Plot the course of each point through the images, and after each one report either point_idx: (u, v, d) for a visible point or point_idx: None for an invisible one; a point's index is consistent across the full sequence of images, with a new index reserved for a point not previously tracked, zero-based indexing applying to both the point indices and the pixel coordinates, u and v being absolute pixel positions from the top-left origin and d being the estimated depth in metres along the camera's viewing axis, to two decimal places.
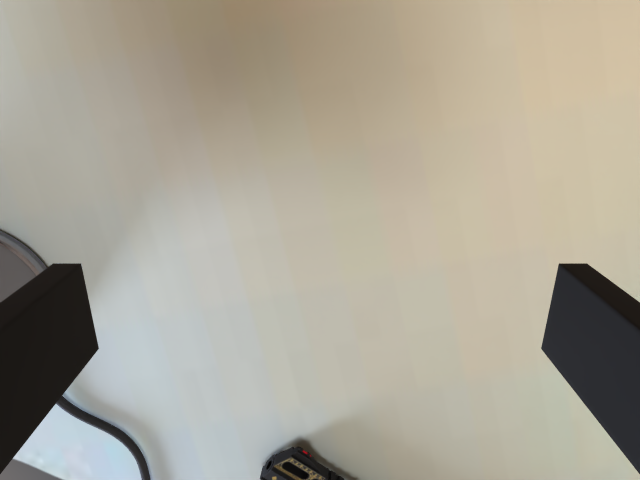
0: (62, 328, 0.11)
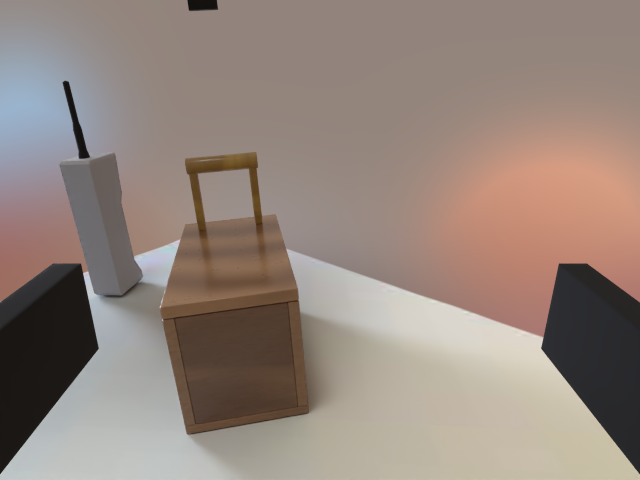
0: (62, 328, 0.11)
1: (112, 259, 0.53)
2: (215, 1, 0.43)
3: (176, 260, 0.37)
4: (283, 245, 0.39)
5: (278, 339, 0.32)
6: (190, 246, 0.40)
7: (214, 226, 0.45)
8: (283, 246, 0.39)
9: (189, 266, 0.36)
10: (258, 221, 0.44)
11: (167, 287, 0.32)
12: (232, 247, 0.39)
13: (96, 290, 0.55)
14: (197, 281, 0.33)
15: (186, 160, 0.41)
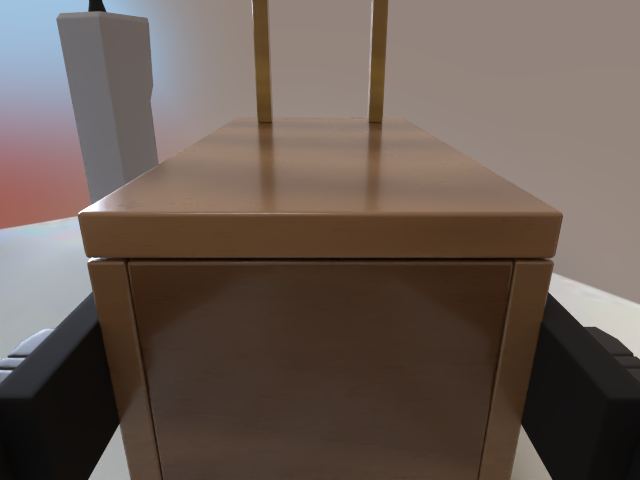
0: None
1: None
2: None
3: (195, 145, 0.16)
4: (444, 143, 0.16)
5: (453, 380, 0.10)
6: (233, 134, 0.19)
7: (288, 121, 0.23)
8: (445, 144, 0.16)
9: (219, 153, 0.14)
10: (374, 117, 0.22)
11: (140, 177, 0.11)
12: (323, 139, 0.17)
13: None
14: (226, 174, 0.12)
15: None
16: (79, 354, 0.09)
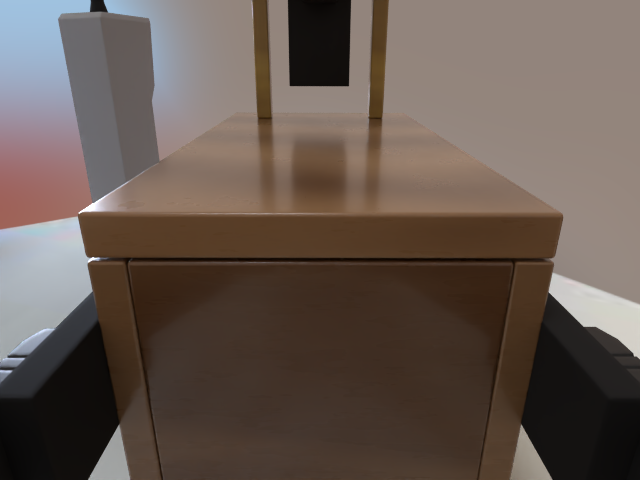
0: None
1: None
2: None
3: (194, 142, 0.16)
4: (445, 140, 0.16)
5: (453, 380, 0.10)
6: (233, 130, 0.18)
7: (288, 116, 0.23)
8: (446, 141, 0.16)
9: (219, 150, 0.14)
10: (374, 112, 0.22)
11: (140, 176, 0.11)
12: (323, 136, 0.17)
13: None
14: (226, 172, 0.12)
15: None
16: (79, 354, 0.09)
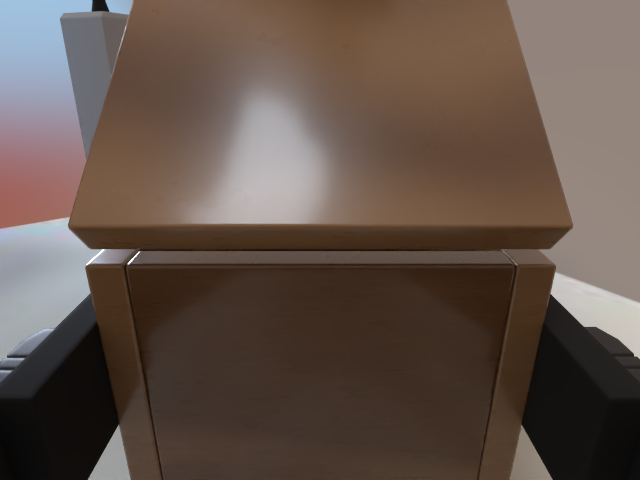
0: None
1: None
2: None
3: None
4: None
5: (454, 382, 0.10)
6: None
7: None
8: None
9: (188, 1, 0.11)
10: None
11: (107, 106, 0.09)
12: None
13: None
14: (207, 92, 0.10)
15: None
16: (79, 354, 0.09)
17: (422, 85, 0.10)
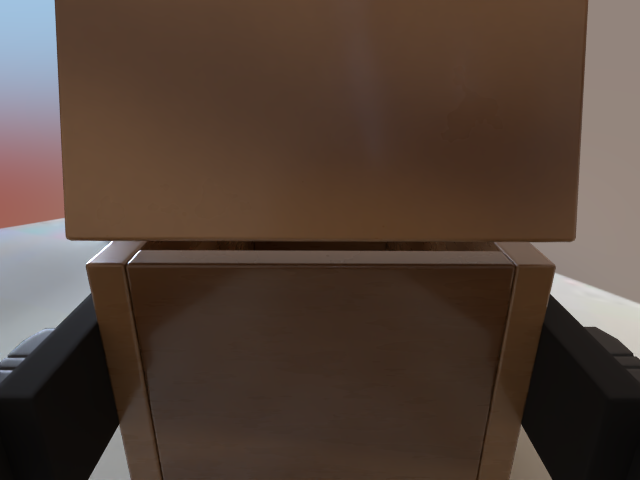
0: None
1: None
2: None
3: None
4: None
5: (453, 382, 0.10)
6: None
7: None
8: None
9: None
10: None
11: (64, 74, 0.08)
12: None
13: None
14: (182, 52, 0.08)
15: None
16: (80, 354, 0.09)
17: (448, 39, 0.08)
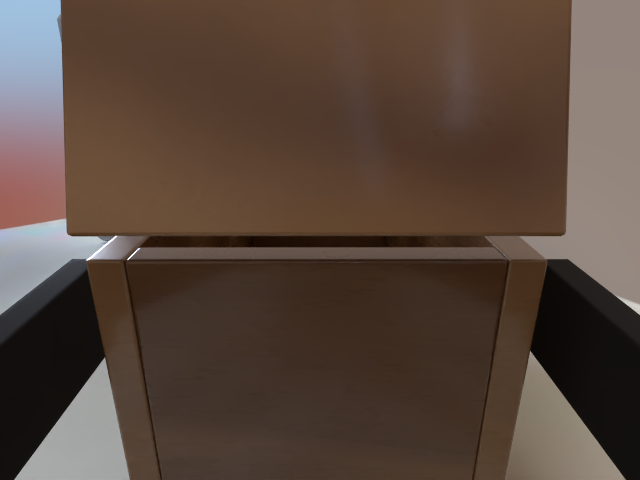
0: (82, 322, 0.12)
1: None
2: None
3: None
4: None
5: (449, 377, 0.10)
6: None
7: None
8: None
9: None
10: None
11: (69, 75, 0.08)
12: None
13: None
14: (182, 54, 0.08)
15: None
16: None
17: (438, 40, 0.08)
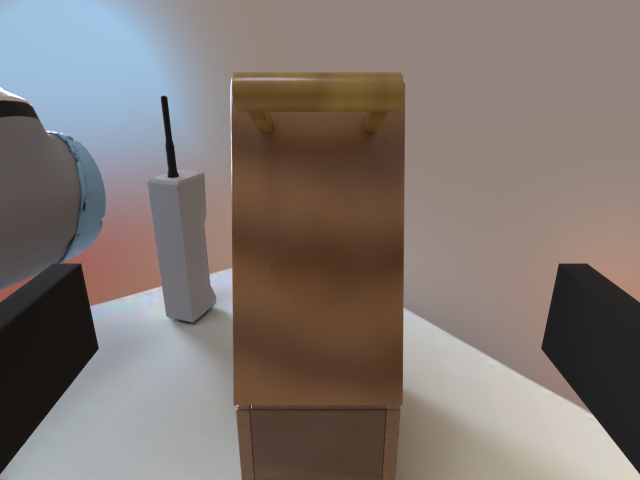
0: (62, 328, 0.11)
1: (188, 285, 0.50)
2: None
3: (236, 261, 0.24)
4: (401, 253, 0.24)
5: (368, 448, 0.26)
6: (251, 209, 0.24)
7: (287, 116, 0.24)
8: (401, 258, 0.24)
9: (258, 291, 0.24)
10: (369, 130, 0.24)
11: (235, 353, 0.24)
12: (320, 237, 0.24)
13: (168, 313, 0.53)
14: (273, 346, 0.24)
15: (235, 97, 0.17)
16: None
17: (358, 341, 0.24)
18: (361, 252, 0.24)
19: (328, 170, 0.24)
